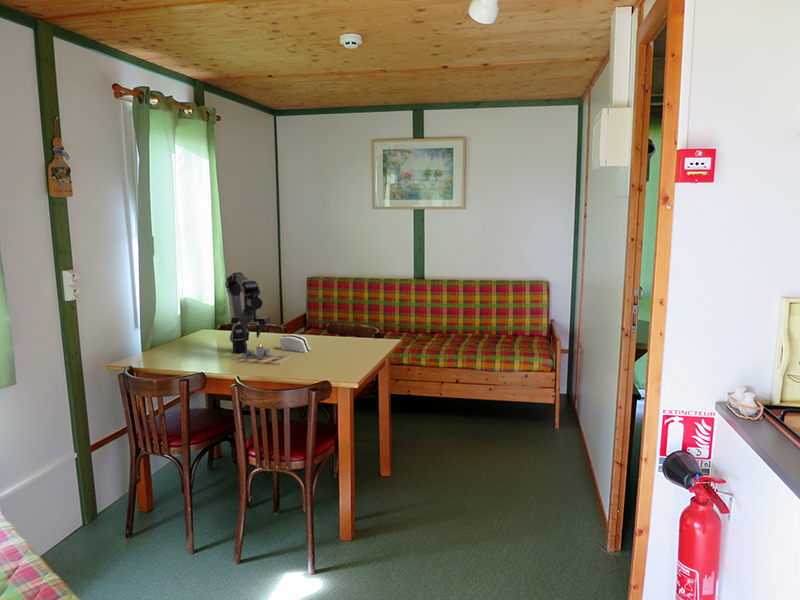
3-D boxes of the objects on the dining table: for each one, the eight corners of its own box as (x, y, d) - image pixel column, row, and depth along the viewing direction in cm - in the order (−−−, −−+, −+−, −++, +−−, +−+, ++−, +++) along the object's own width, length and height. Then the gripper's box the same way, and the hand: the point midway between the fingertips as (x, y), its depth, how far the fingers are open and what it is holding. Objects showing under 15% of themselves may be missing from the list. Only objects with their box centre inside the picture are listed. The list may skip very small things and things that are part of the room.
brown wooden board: (237, 362, 278) (237, 359, 278) (251, 355, 292) (251, 352, 291) (279, 365, 274) (279, 362, 273) (290, 357, 287) (290, 355, 287)
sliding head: (255, 359, 279) (255, 345, 278) (263, 355, 287) (262, 341, 286) (262, 359, 278) (261, 345, 277) (269, 355, 286) (269, 341, 285)
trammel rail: (241, 358, 281) (241, 353, 280) (249, 354, 288) (248, 349, 288) (279, 361, 276) (279, 356, 276) (286, 356, 284) (286, 351, 284)
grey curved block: (311, 350, 302) (307, 334, 298) (307, 355, 298) (302, 339, 294) (286, 347, 309) (282, 331, 305) (281, 351, 306) (277, 336, 301)
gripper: (224, 308, 271) (226, 340, 274) (260, 309, 267) (261, 341, 270) (235, 304, 282) (237, 335, 284) (270, 306, 278) (271, 336, 280)
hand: (251, 337), depth 279 cm, fingers open, 6 cm apart
